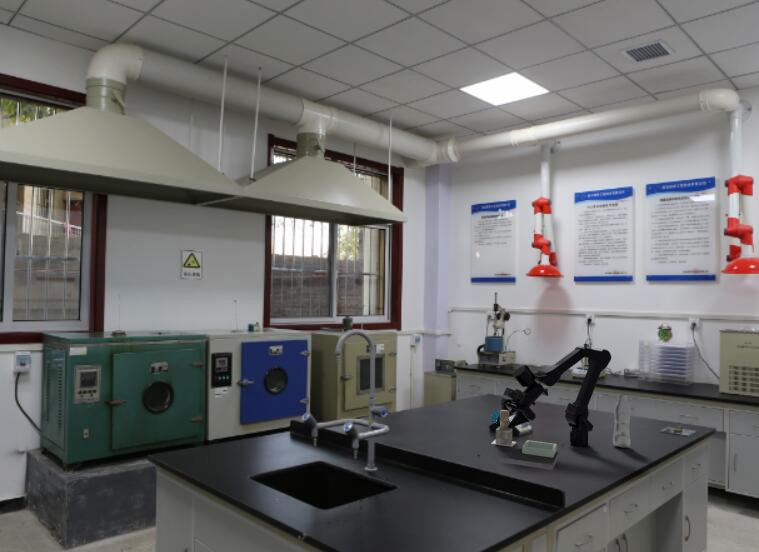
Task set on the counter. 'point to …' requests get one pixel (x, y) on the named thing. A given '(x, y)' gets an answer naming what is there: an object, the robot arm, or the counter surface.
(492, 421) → the blue lobed toy
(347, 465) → the counter surface
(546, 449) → the tray
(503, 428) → the stamp
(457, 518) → the counter surface
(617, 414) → the plastic bottle
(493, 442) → the stud plate
